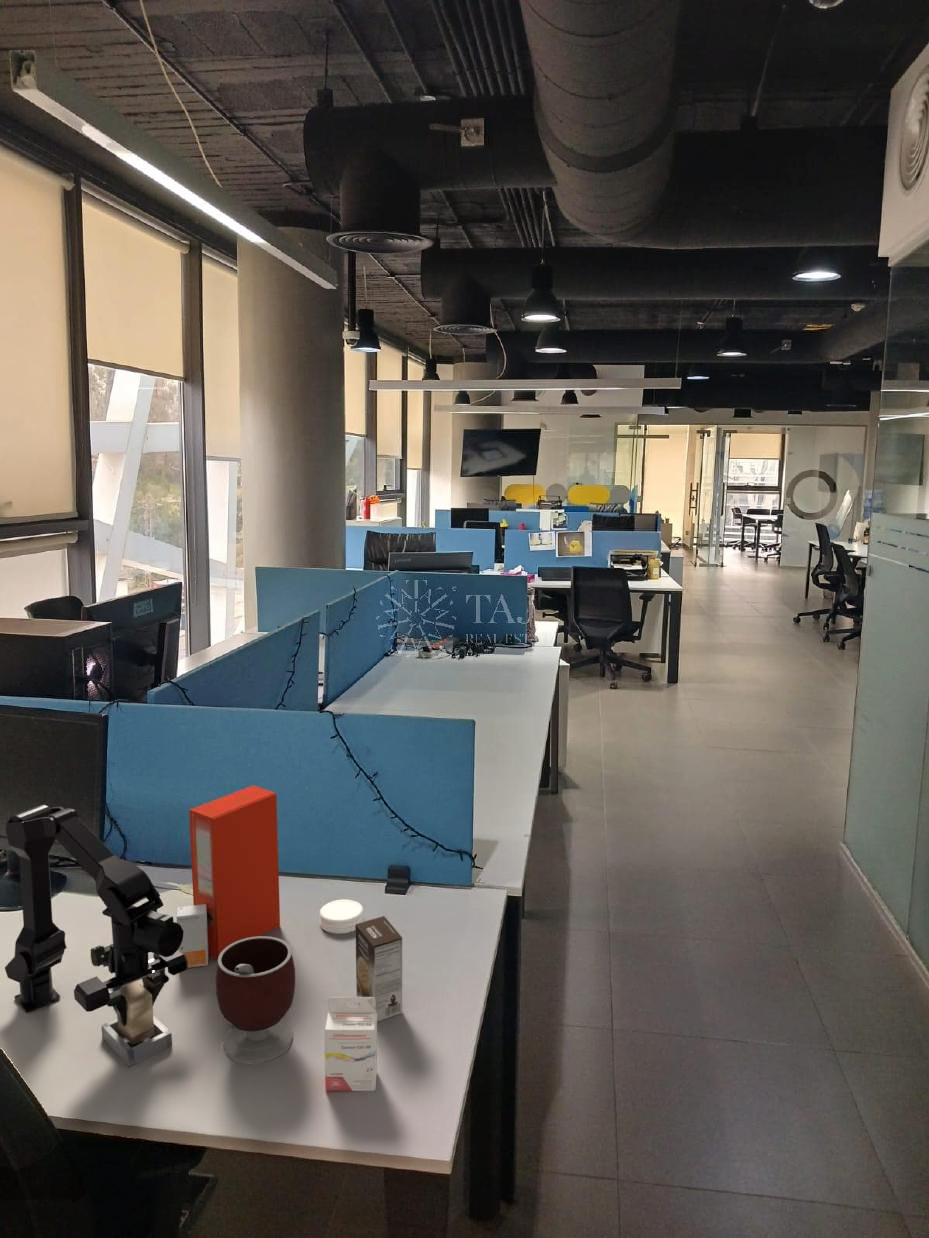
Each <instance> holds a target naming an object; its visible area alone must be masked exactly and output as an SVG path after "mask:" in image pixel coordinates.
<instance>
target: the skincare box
mask: <svg viewBox="0 0 929 1238" xmlns="http://www.w3.org/2000/svg"><path fill="white" fill-rule="evenodd" d="M176 923H178V924H180V925H181V927H182V929H183V932H184V933H183V940H182V943H181V945H180V947H179V949H178V950H180V951H181V952H182V953H183V954H185V955H186V957H187V960H188V968H187V969H189V968H196V967H205V966H209V955H208V932H207V905H206V904H203V905H194V904H193V905H192V904H191V905H188V906H181V907H179V906H178V907H177V908H176Z"/></svg>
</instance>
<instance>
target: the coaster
mask: <svg viewBox="0 0 929 1238" xmlns="http://www.w3.org/2000/svg"><path fill="white" fill-rule="evenodd" d="M364 915H365V914H364V907H363V906H362V904H361V903H360V902H358V901H356V900H352V899H337V900H332V901H330V902H328V903H326V904H325V905H323V906H322V907H321V908H320V910H319V925H320V927H321V929H322V930H323V931H325V932H327V933H329V934H338V935H343V933H344V934H348V933H352V932H354V931H355V932H356V928H355V925H356V924H358V923H362V922H365V919H364ZM351 931H352V932H351Z"/></svg>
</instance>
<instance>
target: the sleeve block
mask: <svg viewBox="0 0 929 1238" xmlns="http://www.w3.org/2000/svg"><path fill="white" fill-rule="evenodd" d="M121 994H122V995H123V996H124V997H125V998H126V1015H127V1021H126V1026H123V1025H122V1024H121V1022H120V1020H119V1018H118V1016H117V1015H116V1019H117V1021H118V1030H119V1031H120V1032H121V1033H120V1034H122V1036H124V1037H125V1038H126V1039H127V1040H128V1041H129V1043H130V1044H131V1045H132V1046H133V1045H135V1044H138V1043H140V1042H143V1041H144V1040H146V1039H149V1038H151V1037H152V1036H154V1020H153V1016H154V1005H153V1004H152V994H151V993H150V992H149V991H147V990H146V989H145V988H144V987H143V984H141V983H140V982H139V980H138V981H135V982H133V983H131V984H128V985H126V986H124V987H122V988H121Z"/></svg>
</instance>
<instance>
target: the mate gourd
mask: <svg viewBox="0 0 929 1238" xmlns="http://www.w3.org/2000/svg"><path fill="white" fill-rule="evenodd" d="M295 989H296V967H295V962H294V957H293V953H292V949H291V946H290V945H289V943H288V942H286V941H285V940H283V939H281V938H278V937H274V936H269V935H266V936H265V935H262V936H257V937H250V938H245V939H242V940H239V941H236V942H234V943H232V944H230V945H229V946H227V947H226V948H225V949H224V950H223V951H222V952H221V953H220V955H219V957H218V960H217V966H216V973H215V991H216V992H215V993H216V994H215V995H216V999H217V1003H218V1008H219V1011H220V1012H221V1015H222V1017H223V1018H224V1020H226V1021H227V1022H228V1023H229V1024H230V1025H232V1028H230V1030H228V1031H227V1033H226V1034H225V1036H224V1039H223V1051H224V1052H225V1054H226V1056H227V1057H228V1058H229V1059H230V1060H232V1061H234V1062H236V1063H240V1064H246V1065H256V1064H262V1063H267V1062H269V1061H272V1060H274V1059H276V1058H278V1057H280V1056H281V1055H283V1054H284V1053H285V1052H287V1050H288V1049H289V1048H290V1047H291V1045H292V1042H293V1036H294V1035H293V1030H292V1027H291V1026H290V1024H289V1023H287V1022H286V1021H284V1020H283V1019H284V1017H285V1016H286V1015H287V1013H288V1011H289V1010H290V1008H291V1007H292V1005H293V1001H294V998H295V997H294V996H295Z"/></svg>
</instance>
